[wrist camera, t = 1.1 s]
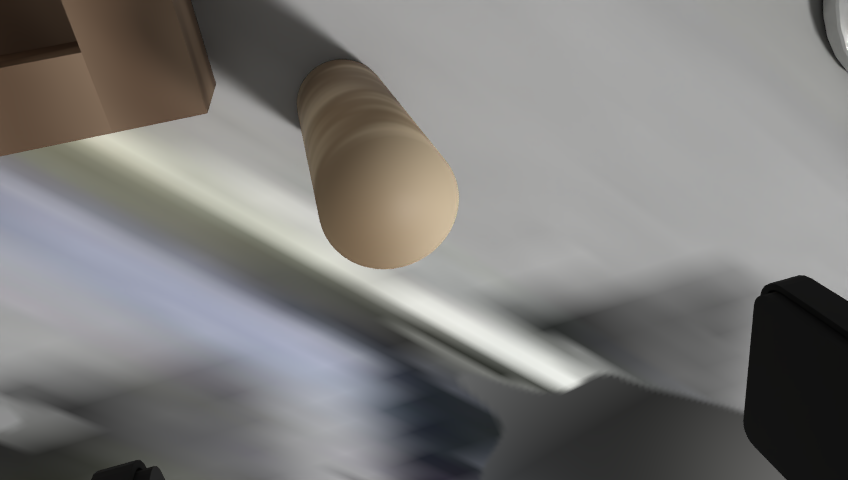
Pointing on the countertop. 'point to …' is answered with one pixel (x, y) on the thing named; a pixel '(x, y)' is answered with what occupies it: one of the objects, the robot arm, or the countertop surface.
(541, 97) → the countertop surface
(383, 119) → the pin
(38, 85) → the bore block
